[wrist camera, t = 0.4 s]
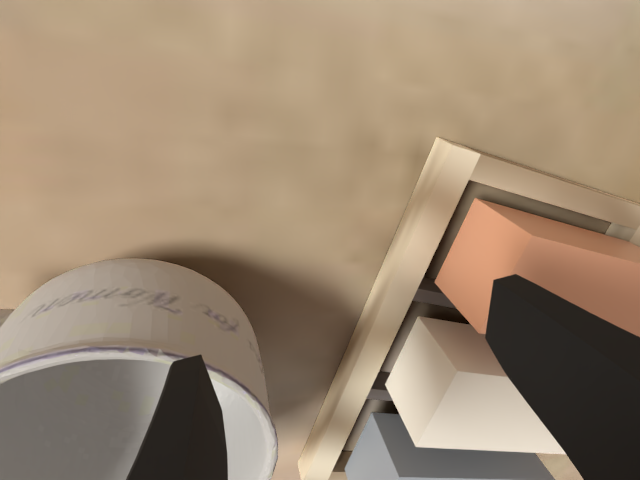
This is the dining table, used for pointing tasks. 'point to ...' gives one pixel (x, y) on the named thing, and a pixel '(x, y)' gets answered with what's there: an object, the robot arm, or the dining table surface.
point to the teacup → (123, 370)
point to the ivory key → (461, 394)
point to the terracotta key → (540, 264)
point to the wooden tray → (431, 280)
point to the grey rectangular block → (431, 458)
